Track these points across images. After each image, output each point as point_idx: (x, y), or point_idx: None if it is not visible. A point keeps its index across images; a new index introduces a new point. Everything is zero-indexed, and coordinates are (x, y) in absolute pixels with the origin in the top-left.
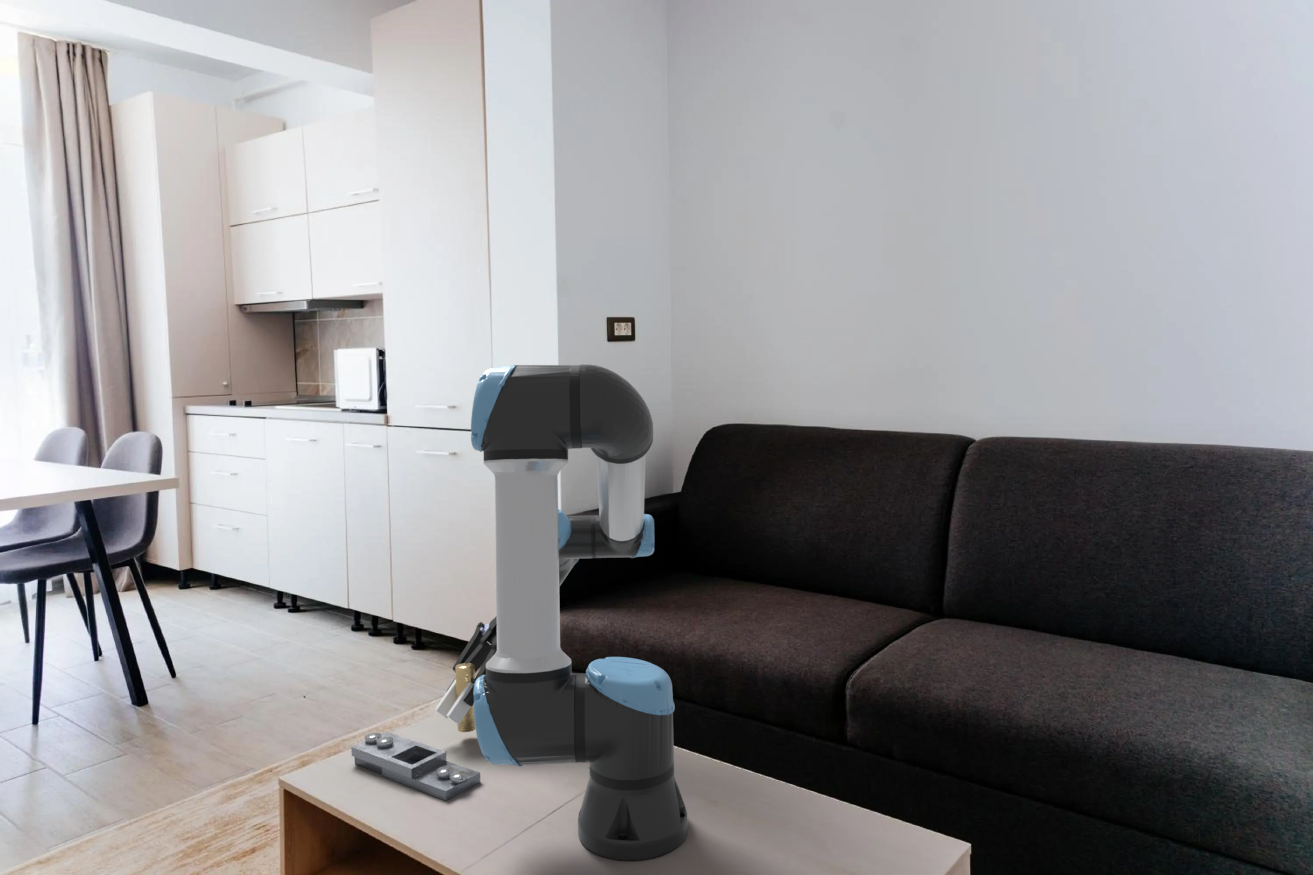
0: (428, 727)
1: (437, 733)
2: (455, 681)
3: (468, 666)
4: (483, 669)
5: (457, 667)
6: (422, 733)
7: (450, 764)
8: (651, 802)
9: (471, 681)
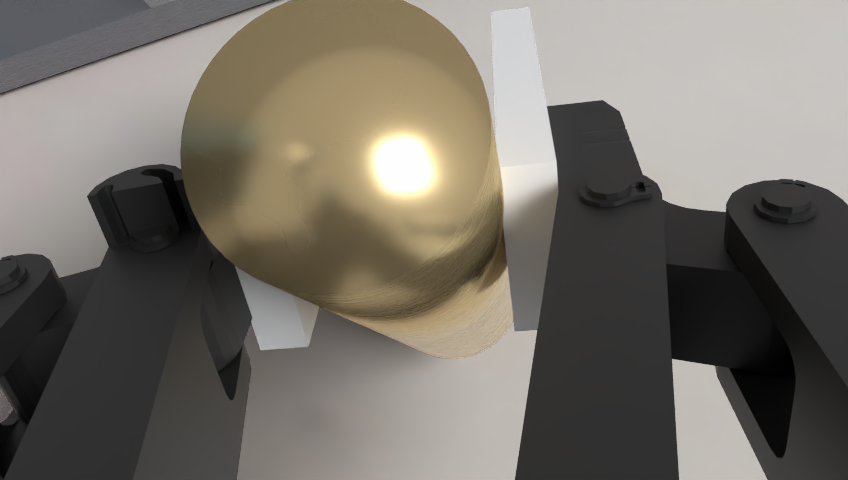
0: (836, 188)
1: (692, 194)
2: (517, 134)
3: (271, 172)
4: (92, 351)
5: (357, 17)
6: (758, 118)
7: (99, 8)
8: None
9: (165, 173)
